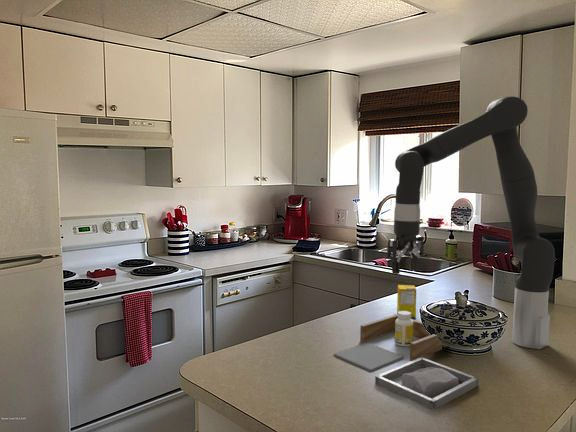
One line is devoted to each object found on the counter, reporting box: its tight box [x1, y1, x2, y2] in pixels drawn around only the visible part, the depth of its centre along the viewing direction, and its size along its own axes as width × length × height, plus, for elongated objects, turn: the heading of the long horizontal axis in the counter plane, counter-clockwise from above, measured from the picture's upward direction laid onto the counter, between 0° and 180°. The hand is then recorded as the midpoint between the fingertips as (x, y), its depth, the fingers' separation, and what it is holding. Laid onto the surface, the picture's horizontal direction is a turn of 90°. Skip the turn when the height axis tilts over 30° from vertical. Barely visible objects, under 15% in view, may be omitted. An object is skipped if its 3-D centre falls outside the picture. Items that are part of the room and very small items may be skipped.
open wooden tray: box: [359, 313, 443, 362], centre depth 151 cm, size 20×17×5 cm
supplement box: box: [396, 284, 417, 320], centre depth 177 cm, size 6×6×11 cm
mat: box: [333, 341, 405, 373], centre depth 142 cm, size 14×14×1 cm
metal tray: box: [374, 357, 479, 411], centre depth 124 cm, size 17×19×2 cm
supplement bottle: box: [394, 311, 414, 348], centre depth 151 cm, size 5×5×10 cm
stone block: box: [401, 367, 460, 398], centre depth 123 cm, size 12×5×10 cm
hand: (405, 271), depth 150 cm, fingers open, 8 cm apart
